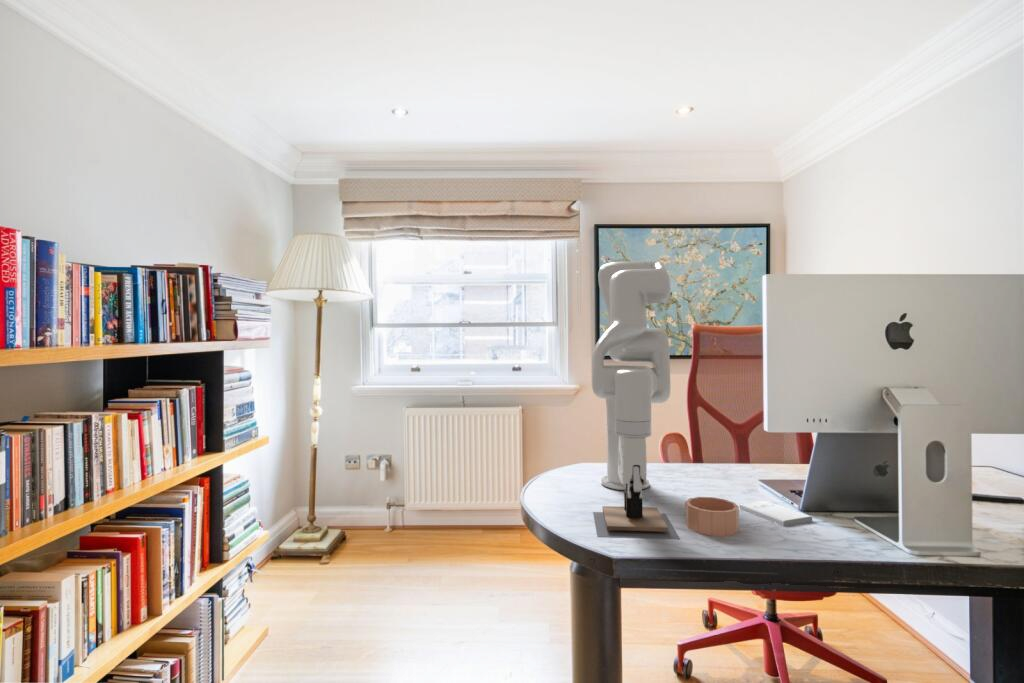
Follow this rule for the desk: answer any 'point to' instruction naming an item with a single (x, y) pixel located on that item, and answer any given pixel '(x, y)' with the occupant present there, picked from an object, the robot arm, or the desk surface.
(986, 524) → the desk surface
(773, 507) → the external hard drive
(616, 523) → the lid
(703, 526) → the bowl
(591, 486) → the desk surface
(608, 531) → the mat
